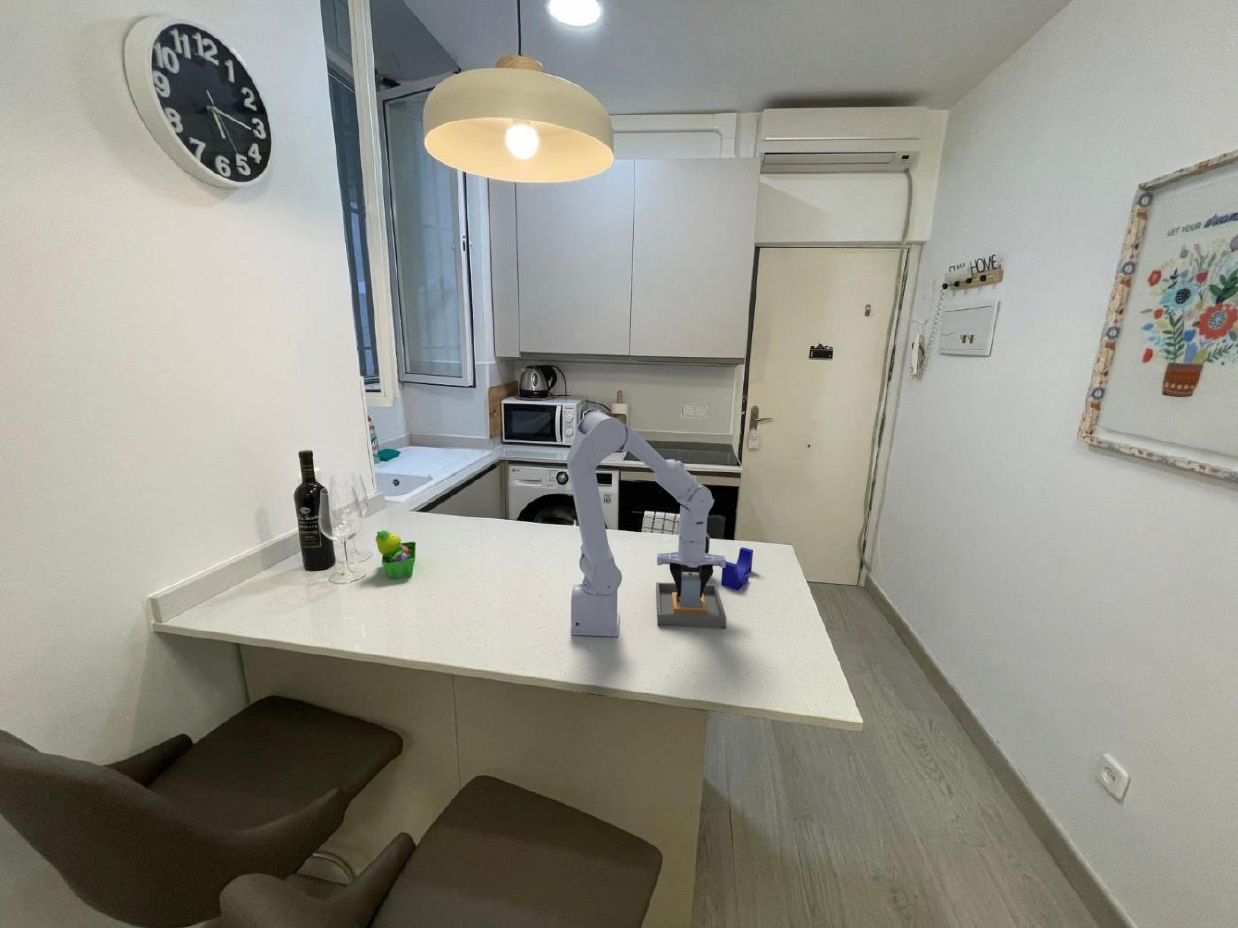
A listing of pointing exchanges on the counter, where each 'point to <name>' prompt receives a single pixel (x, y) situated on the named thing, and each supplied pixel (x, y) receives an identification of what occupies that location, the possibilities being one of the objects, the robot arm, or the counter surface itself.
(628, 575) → the counter surface
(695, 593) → the connector plug
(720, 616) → the box
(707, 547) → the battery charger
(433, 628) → the counter surface
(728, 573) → the cable clip
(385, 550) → the fruit basket
